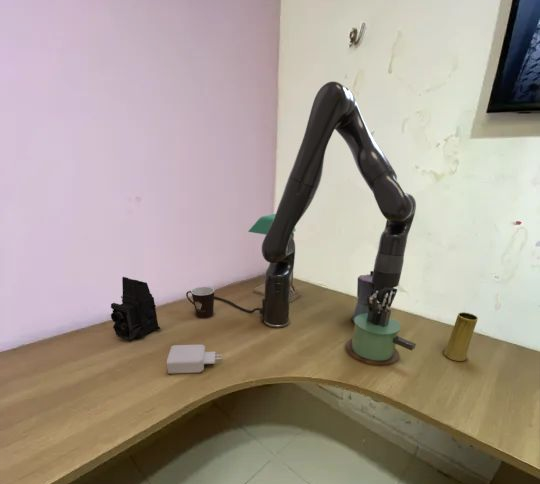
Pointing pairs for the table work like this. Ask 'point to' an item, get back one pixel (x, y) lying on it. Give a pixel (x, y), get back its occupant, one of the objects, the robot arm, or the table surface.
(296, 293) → the banker's lamp
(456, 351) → the vase
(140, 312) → the camera
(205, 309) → the coffee mug
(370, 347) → the pot
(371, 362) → the trivet
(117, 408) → the table surface
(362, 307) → the moka pot
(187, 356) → the charger
